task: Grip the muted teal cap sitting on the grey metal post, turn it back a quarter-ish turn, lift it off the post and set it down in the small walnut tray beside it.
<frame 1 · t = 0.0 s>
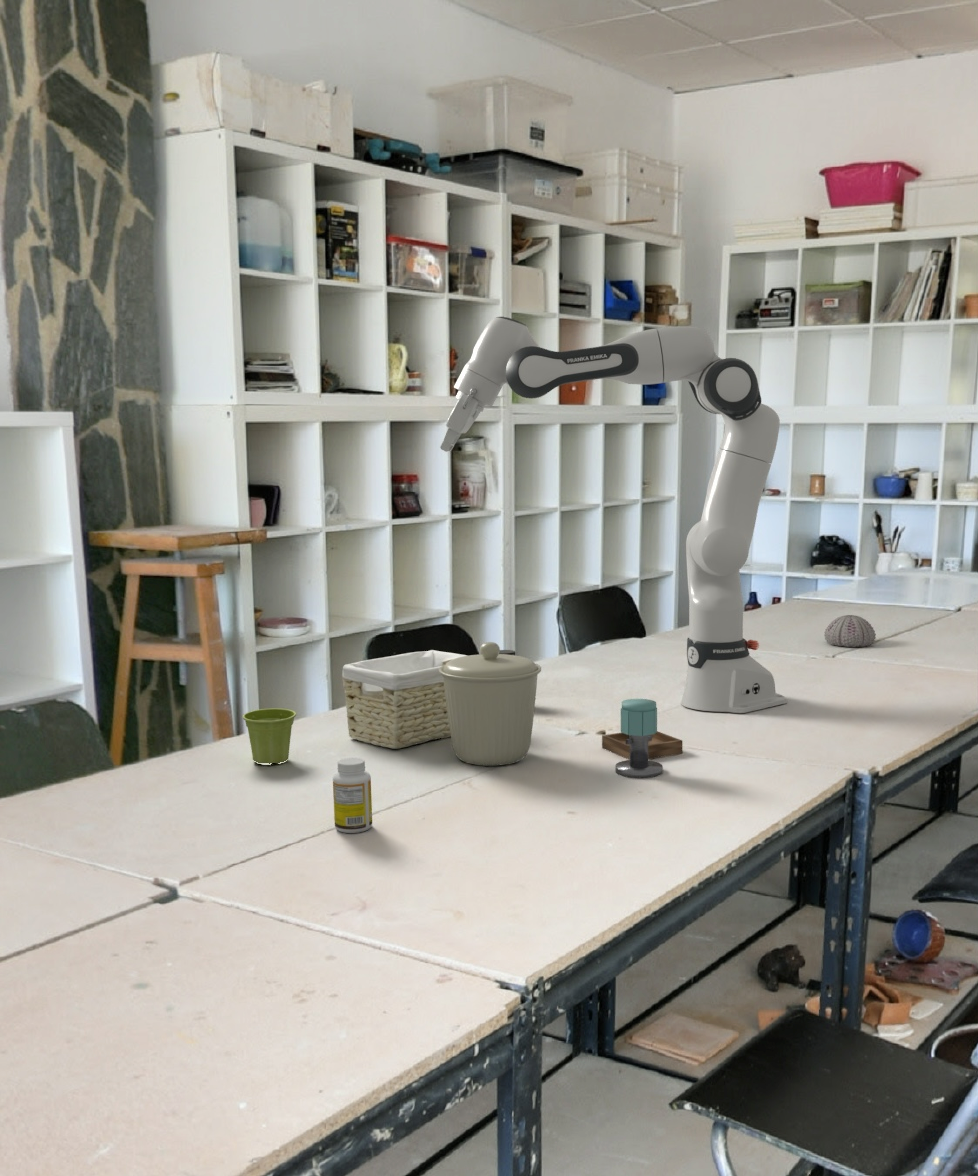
hand: (445, 450, 248), 54 cm above the table, tool tilted 30°, fingers open, 8 cm apart
canister: (491, 759, 214), on the table
supplement bottle 2: (353, 829, 177), on the table
cap: (638, 731, 203), point 7 cm above the table, touching post
sea urchin shell: (849, 645, 322), on the table
post: (638, 771, 204), on the table
plant pot: (271, 762, 214), on the table
walnut tray: (641, 750, 217), on the table
storage basket: (414, 736, 232), on the table
supplement bottle: (505, 708, 254), on the table
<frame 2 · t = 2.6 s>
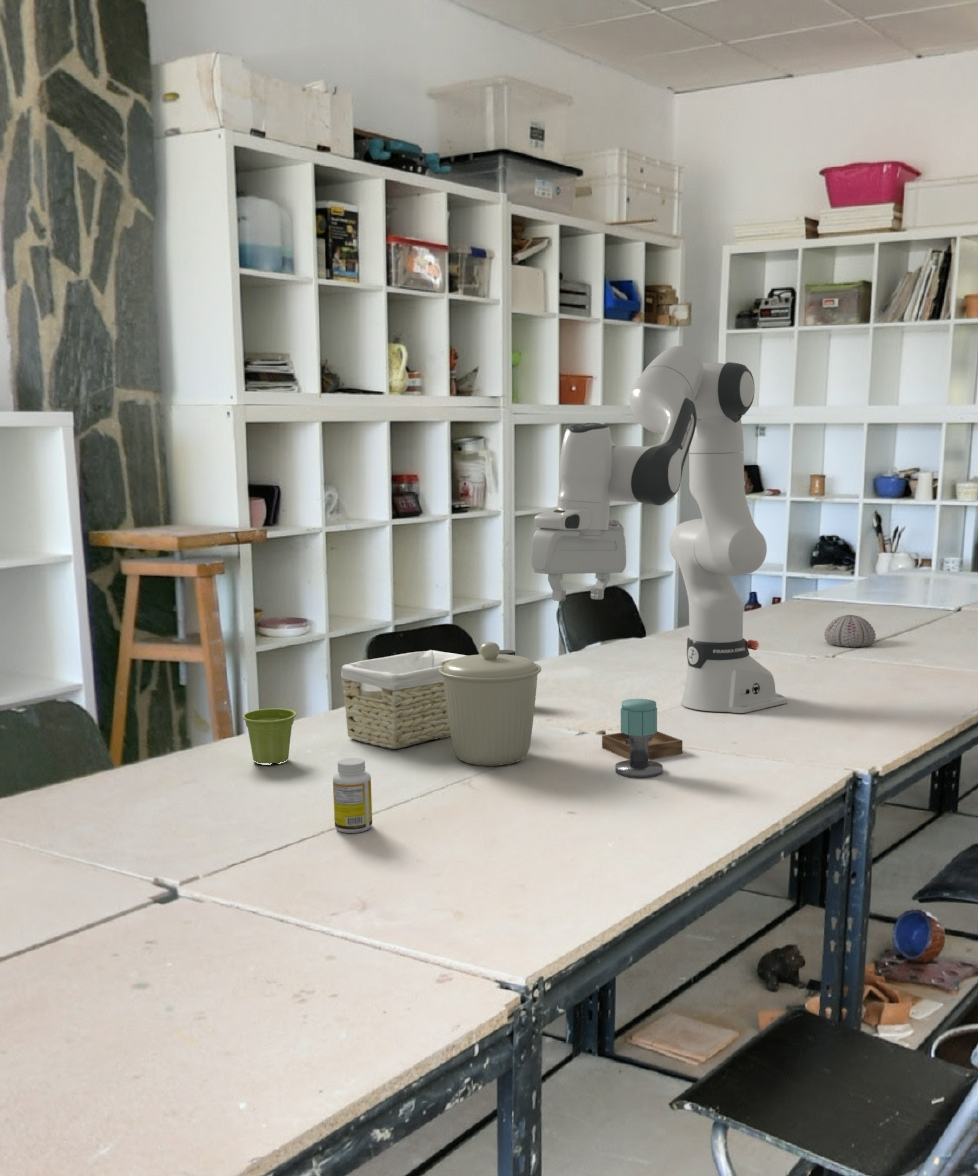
hand: (578, 599, 205), 29 cm above the table, tool pointing down, fingers open, 8 cm apart
nothing on the table moved.
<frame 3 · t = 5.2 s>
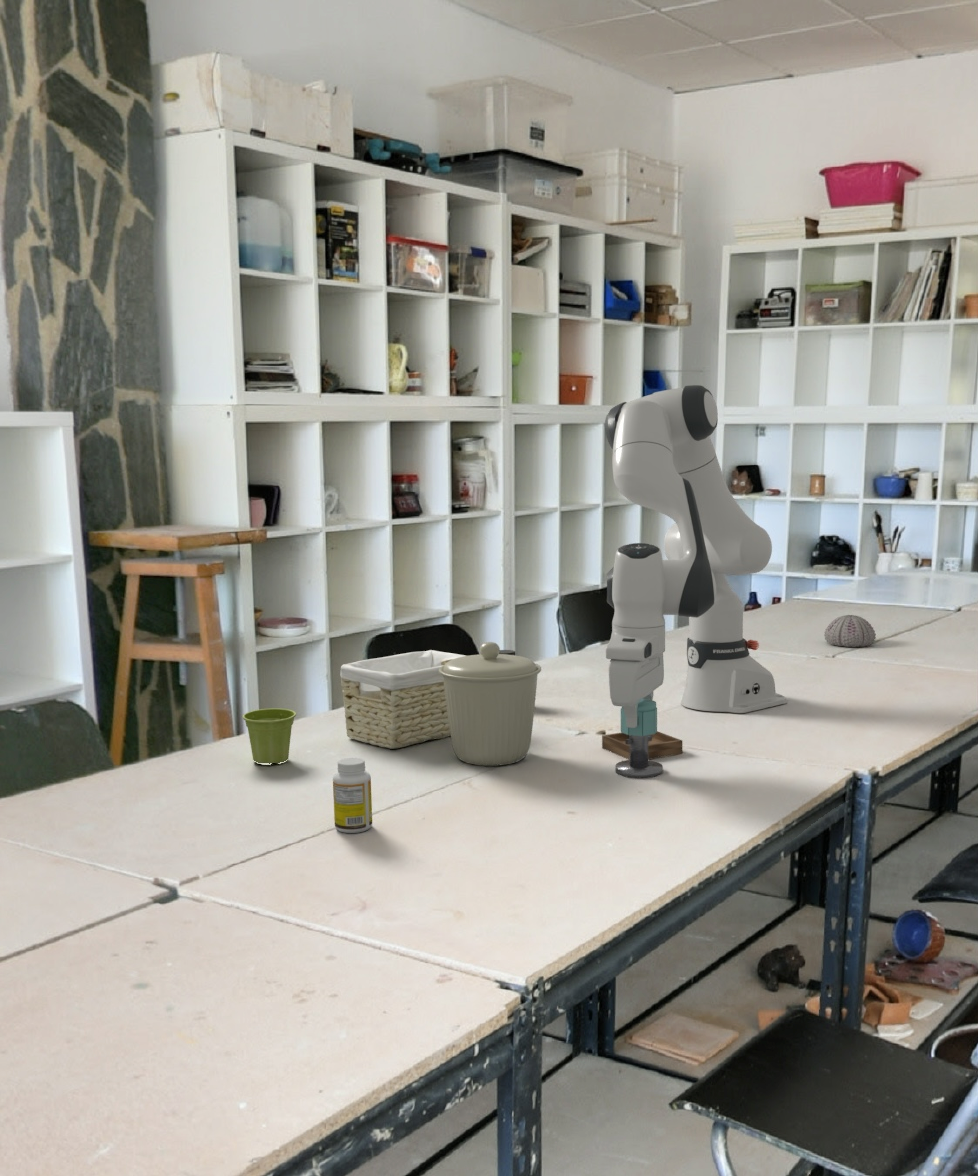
hand: (638, 721, 203), 9 cm above the table, tool pointing down, fingers closed on cap, 6 cm apart
cap: (638, 731, 203), point 7 cm above the table, touching gripper, post
everything else where it was.
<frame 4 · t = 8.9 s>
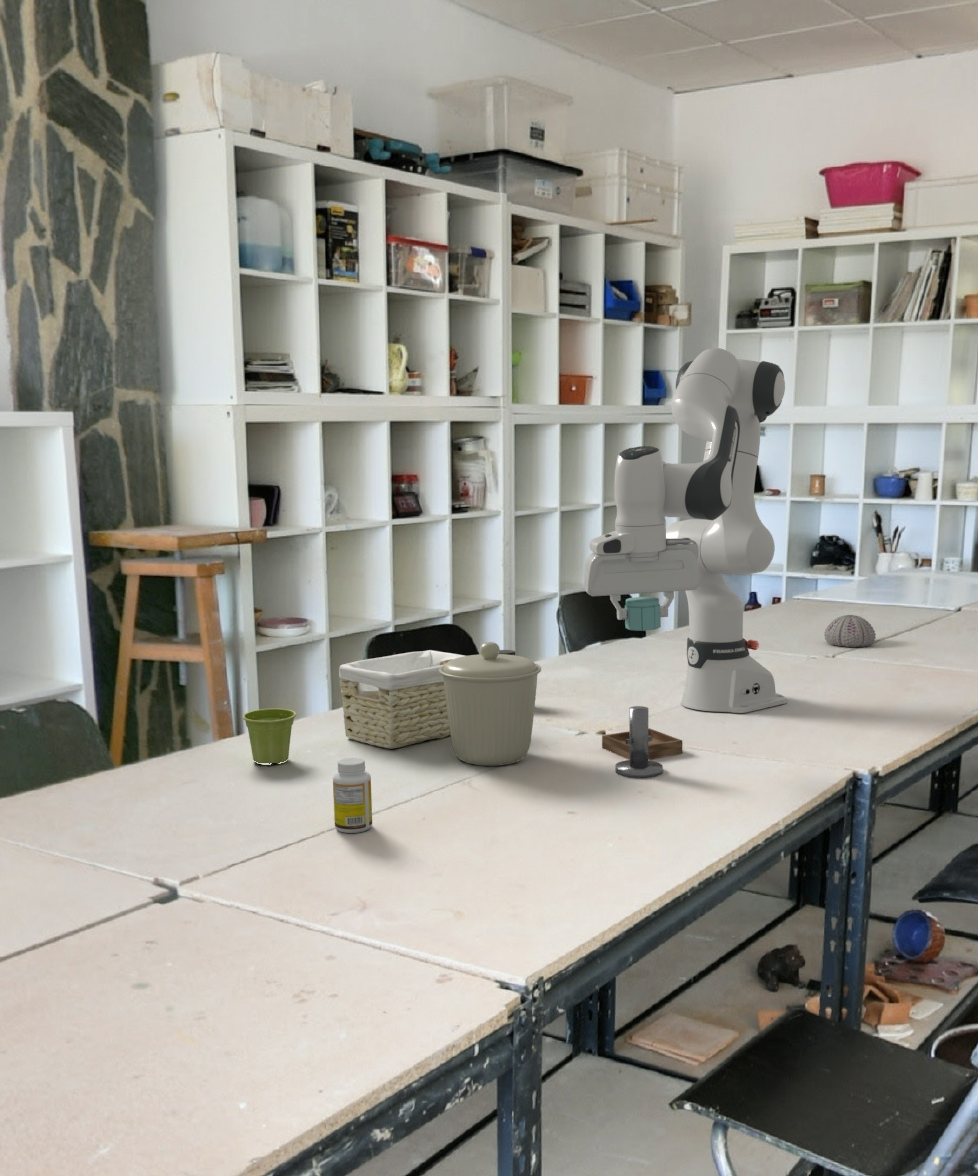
hand: (642, 618, 212), 25 cm above the table, tool pointing down, fingers closed on cap, 6 cm apart
cap: (643, 627, 212), point 23 cm above the table, touching gripper
everything else where it was.
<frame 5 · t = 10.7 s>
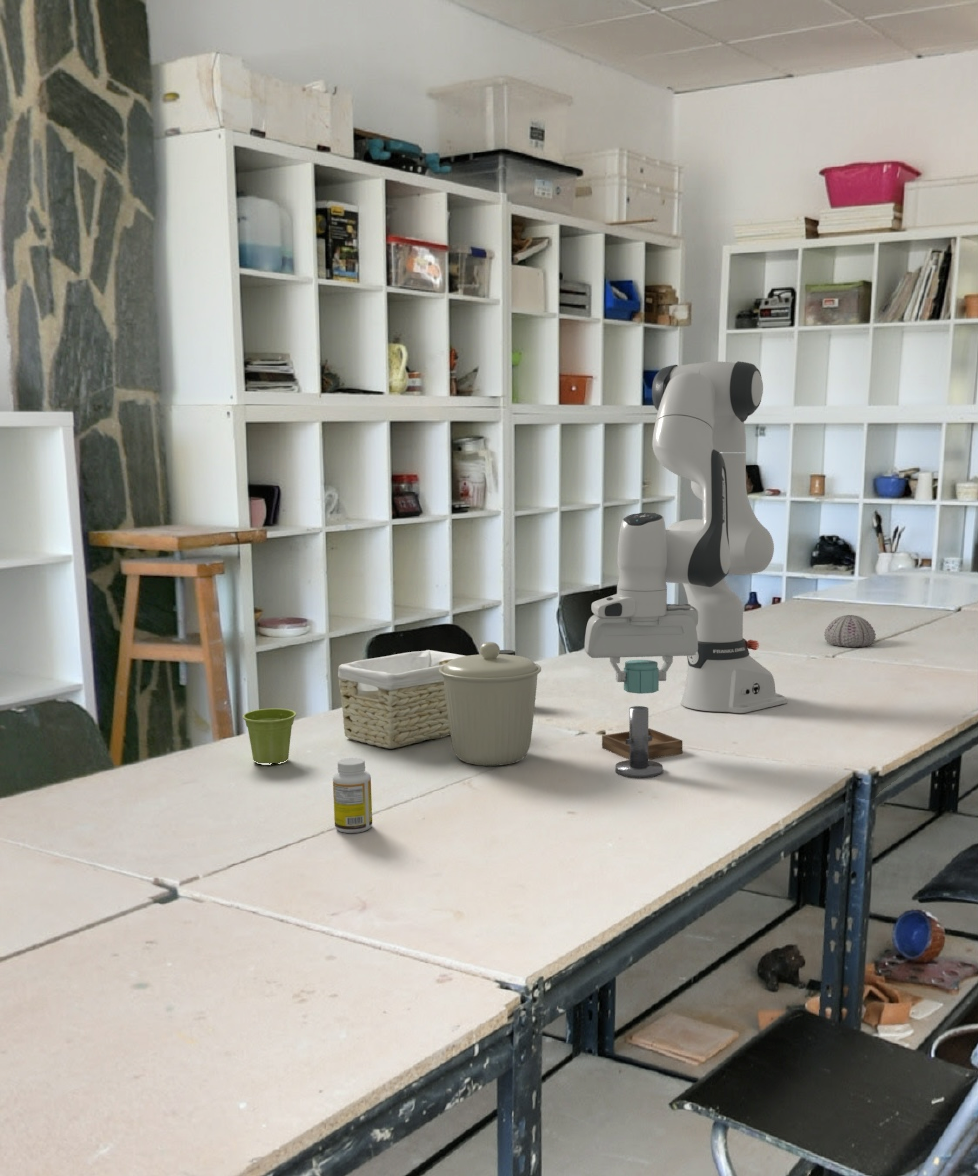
hand: (640, 681, 215), 13 cm above the table, tool pointing down, fingers closed on cap, 6 cm apart
cap: (641, 690, 216), point 11 cm above the table, touching gripper
everything else where it was.
when the fingers open (4 cm above the table, at t = 12.2 s): cap drops 1 cm, resting on walnut tray.
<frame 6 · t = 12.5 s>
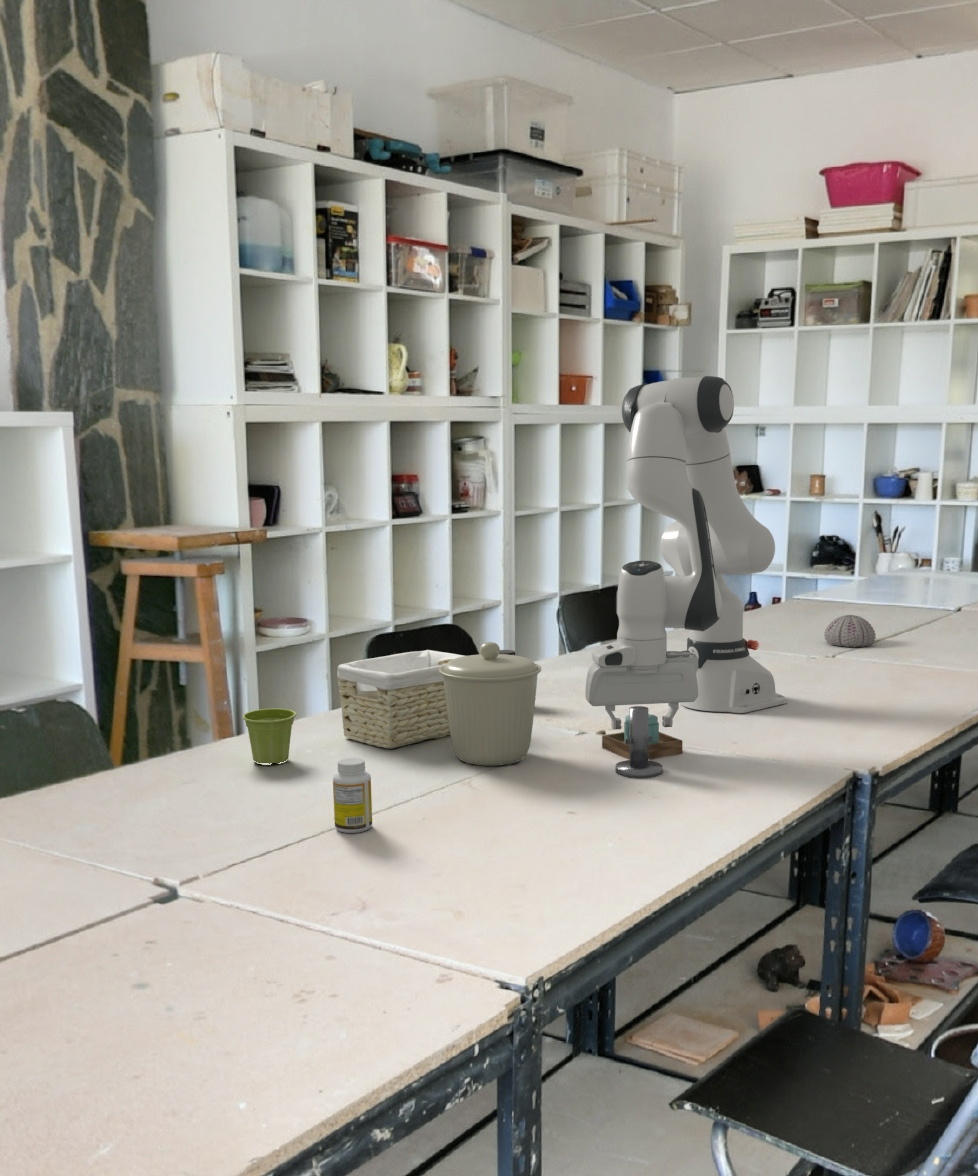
hand: (641, 727, 217), 4 cm above the table, tool pointing down, fingers open, 8 cm apart
cap: (641, 744, 217), point 1 cm above the table, touching walnut tray
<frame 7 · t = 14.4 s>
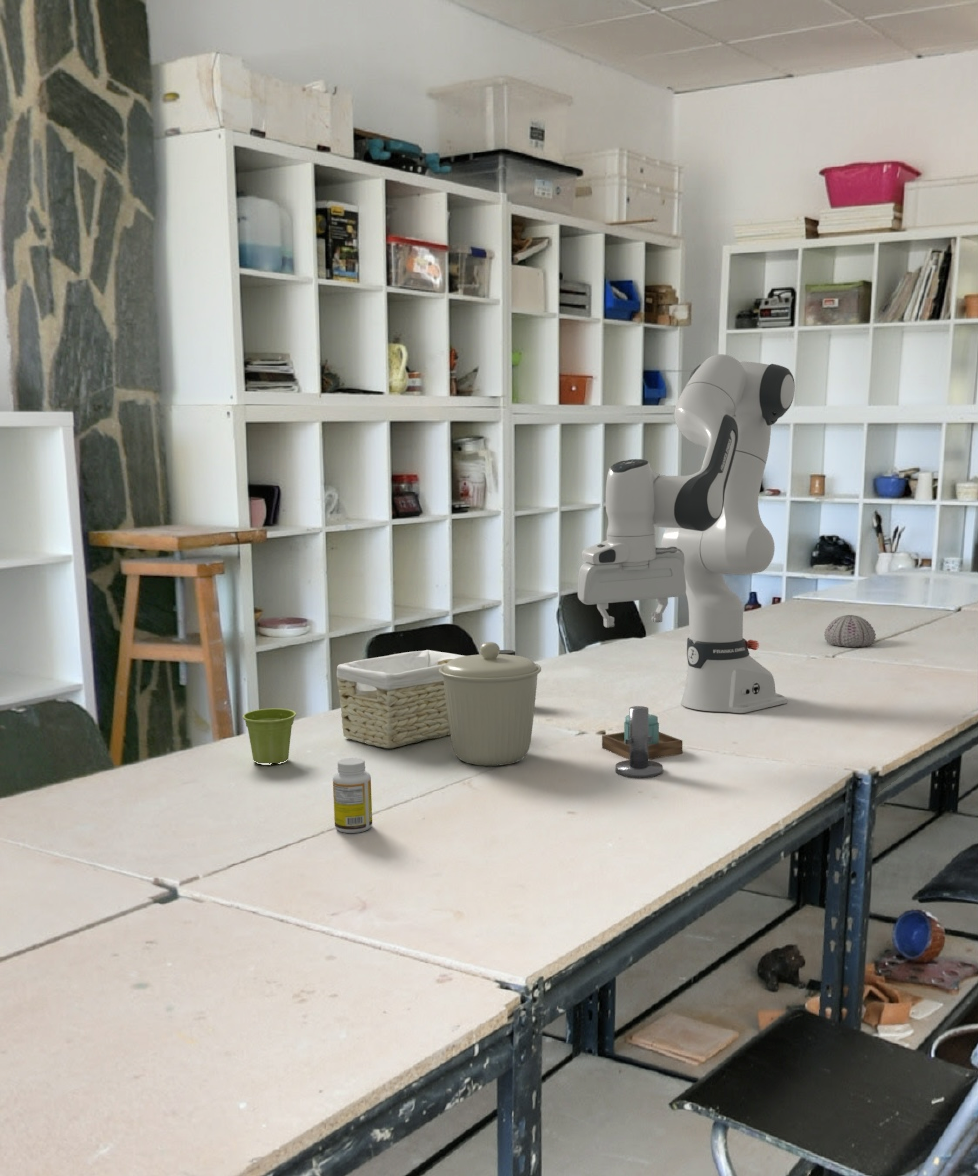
hand: (633, 624, 220), 22 cm above the table, tool pointing down, fingers open, 8 cm apart
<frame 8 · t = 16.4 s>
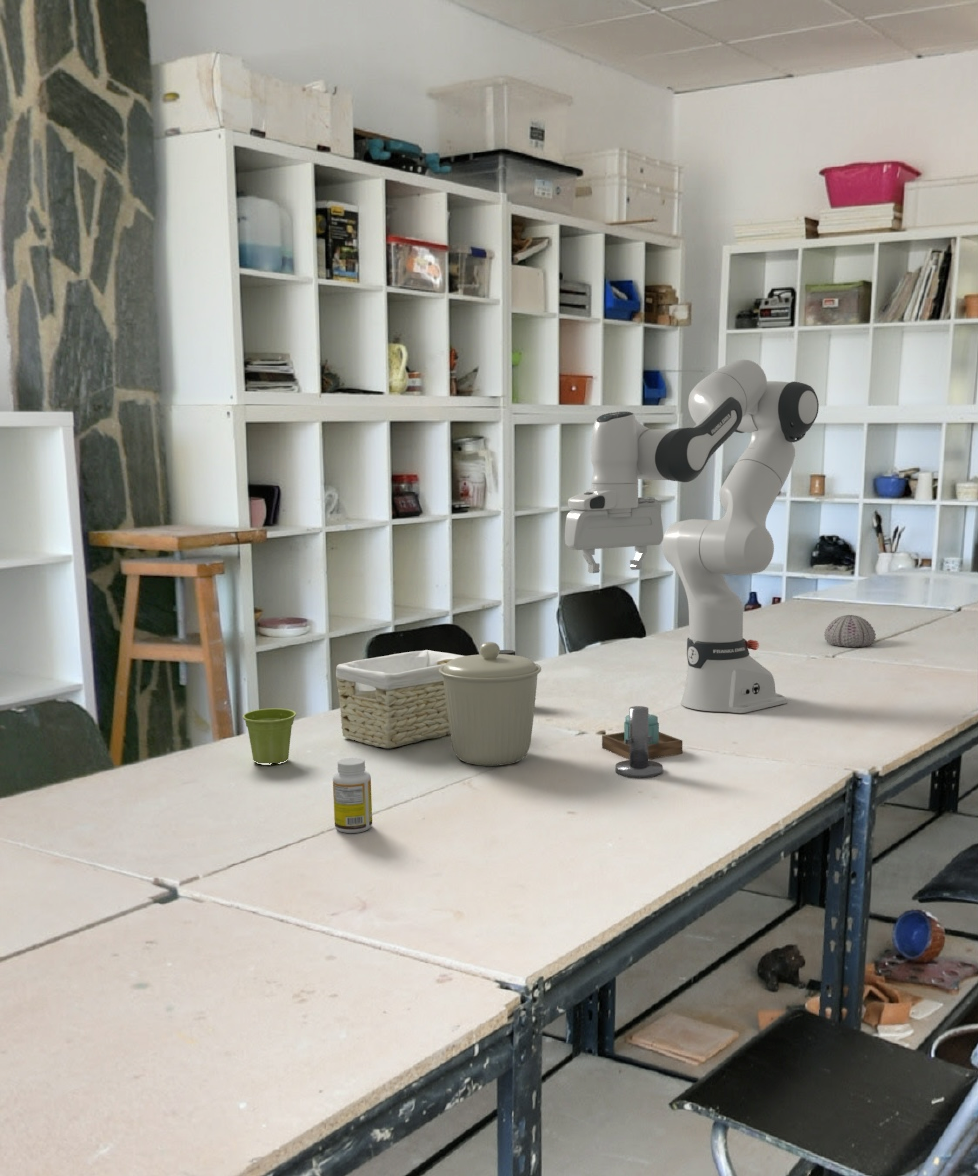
hand: (615, 571, 228), 31 cm above the table, tool pointing down, fingers open, 8 cm apart
at the end: cap inside the target area on the walnut tray (0.1 cm from its centre), point 1.2 cm above the walnut tray's base; cap tilted 0°; the gripper is holding nothing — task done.
